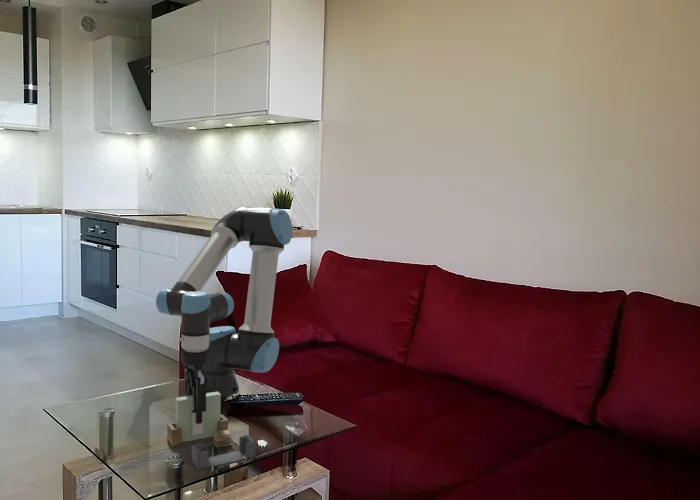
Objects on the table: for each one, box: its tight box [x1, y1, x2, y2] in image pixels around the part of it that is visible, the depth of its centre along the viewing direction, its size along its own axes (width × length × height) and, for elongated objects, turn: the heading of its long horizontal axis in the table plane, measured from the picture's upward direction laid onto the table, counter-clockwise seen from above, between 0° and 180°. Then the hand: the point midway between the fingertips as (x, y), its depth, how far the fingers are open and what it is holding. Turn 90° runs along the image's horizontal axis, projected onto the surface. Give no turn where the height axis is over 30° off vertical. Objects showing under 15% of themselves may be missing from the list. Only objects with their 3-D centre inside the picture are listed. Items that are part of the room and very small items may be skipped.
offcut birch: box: [213, 442, 233, 448], centre depth 167 cm, size 4×3×2 cm
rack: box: [166, 414, 229, 447], centre depth 170 cm, size 16×5×5 cm, turn 121°
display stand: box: [191, 434, 256, 470], centre depth 158 cm, size 15×5×5 cm, turn 121°
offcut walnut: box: [212, 437, 232, 448], centre depth 167 cm, size 4×3×2 cm
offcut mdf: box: [213, 429, 231, 441], centre depth 167 cm, size 4×3×2 cm
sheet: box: [174, 392, 222, 443], centre depth 170 cm, size 12×2×12 cm, turn 121°
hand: (194, 429), depth 170 cm, fingers open, 5 cm apart
